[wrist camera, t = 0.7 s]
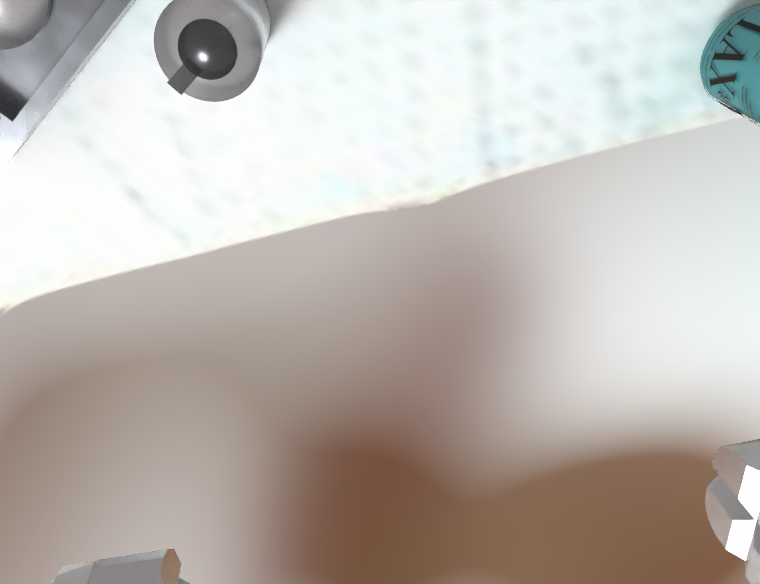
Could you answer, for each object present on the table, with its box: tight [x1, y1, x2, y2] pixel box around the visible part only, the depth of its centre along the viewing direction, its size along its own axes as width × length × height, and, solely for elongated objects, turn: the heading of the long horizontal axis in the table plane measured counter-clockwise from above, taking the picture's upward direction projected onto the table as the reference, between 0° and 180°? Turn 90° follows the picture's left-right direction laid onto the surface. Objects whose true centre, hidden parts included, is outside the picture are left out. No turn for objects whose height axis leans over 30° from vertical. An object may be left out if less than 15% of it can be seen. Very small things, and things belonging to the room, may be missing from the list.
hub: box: [154, 0, 270, 102], centre depth 35 cm, size 6×5×8 cm
